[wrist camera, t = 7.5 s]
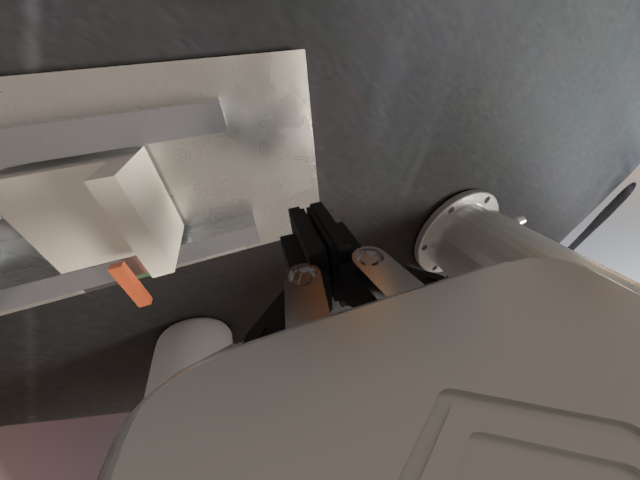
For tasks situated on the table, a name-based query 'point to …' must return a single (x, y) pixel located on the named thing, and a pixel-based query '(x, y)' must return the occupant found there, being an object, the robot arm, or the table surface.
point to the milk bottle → (185, 347)
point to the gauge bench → (168, 152)
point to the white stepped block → (94, 214)
